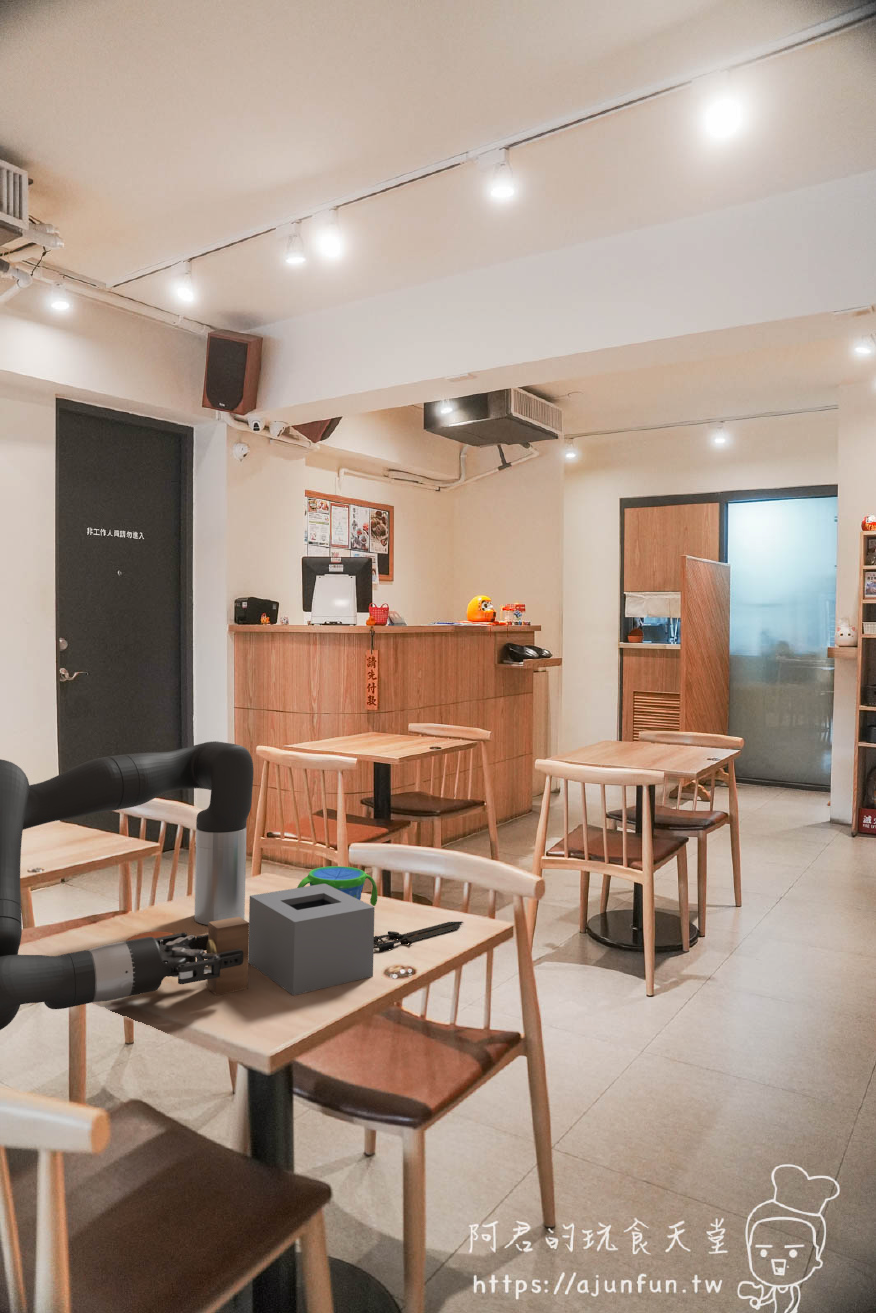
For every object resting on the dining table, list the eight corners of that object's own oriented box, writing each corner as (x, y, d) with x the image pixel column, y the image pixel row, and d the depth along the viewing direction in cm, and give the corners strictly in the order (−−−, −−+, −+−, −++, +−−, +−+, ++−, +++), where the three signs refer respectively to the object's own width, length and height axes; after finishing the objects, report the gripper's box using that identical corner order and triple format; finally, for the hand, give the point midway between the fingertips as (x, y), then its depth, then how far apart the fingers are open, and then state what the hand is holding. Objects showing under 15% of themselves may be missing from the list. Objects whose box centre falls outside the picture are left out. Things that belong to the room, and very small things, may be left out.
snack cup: (369, 915, 171) (370, 863, 171) (384, 932, 161) (385, 877, 161) (288, 921, 166) (290, 868, 166) (299, 940, 156) (300, 882, 156)
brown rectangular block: (205, 987, 134) (206, 922, 134) (238, 980, 137) (239, 916, 137) (214, 995, 131) (216, 928, 131) (247, 988, 134) (249, 922, 134)
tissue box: (248, 962, 145) (249, 895, 144) (323, 946, 153) (325, 883, 153) (293, 995, 132) (294, 921, 131) (372, 976, 140) (374, 907, 140)
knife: (458, 923, 169) (458, 916, 169) (480, 933, 164) (480, 925, 163) (344, 948, 154) (344, 940, 154) (364, 959, 148) (364, 951, 148)
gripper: (139, 958, 119) (251, 936, 128) (108, 929, 130) (213, 911, 140) (138, 1013, 119) (250, 987, 128) (107, 979, 130) (212, 958, 140)
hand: (230, 947), depth 134 cm, fingers open, 8 cm apart
